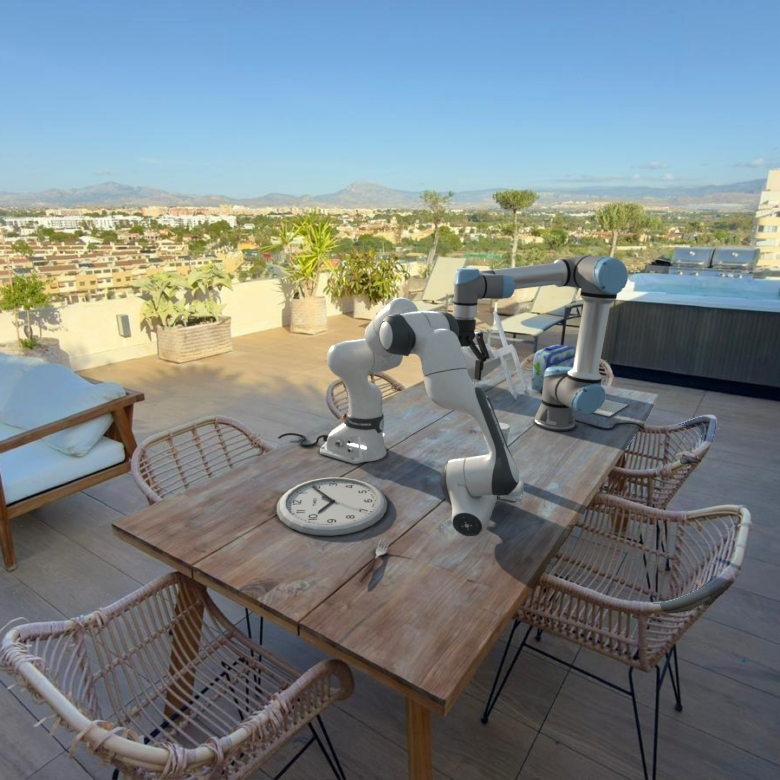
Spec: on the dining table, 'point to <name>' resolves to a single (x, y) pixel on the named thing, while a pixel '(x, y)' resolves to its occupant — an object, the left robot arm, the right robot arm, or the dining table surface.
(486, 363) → the white plastic object
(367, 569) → the fork
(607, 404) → the invitation card
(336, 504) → the wall clock
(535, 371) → the lunch box
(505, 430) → the lid
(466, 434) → the dining table surface
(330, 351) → the left robot arm
